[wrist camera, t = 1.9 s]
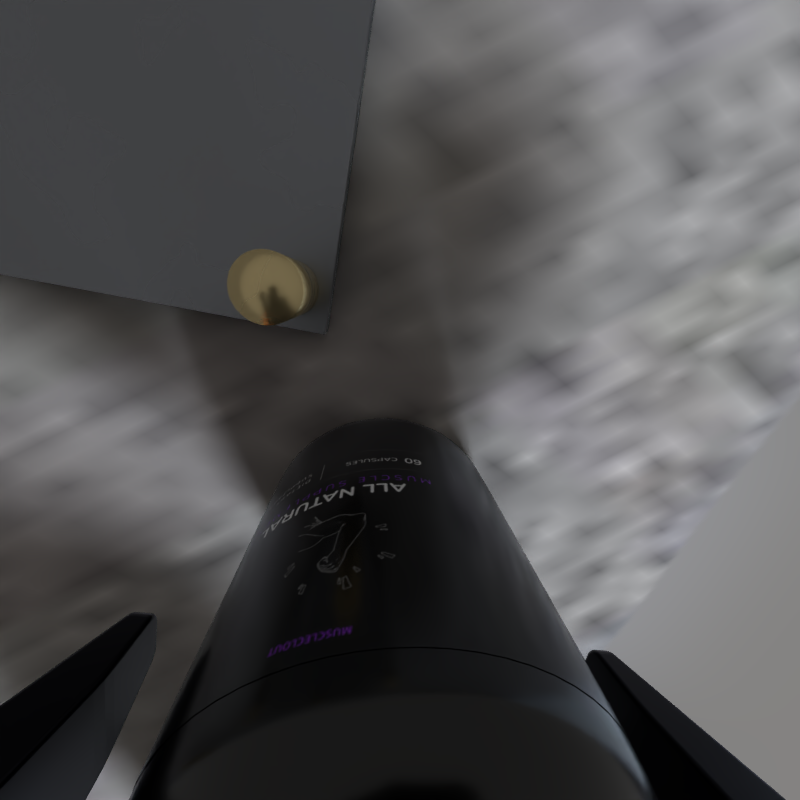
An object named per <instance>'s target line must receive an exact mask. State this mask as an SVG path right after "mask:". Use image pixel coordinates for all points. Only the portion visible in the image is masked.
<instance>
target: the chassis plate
mask: <svg viewBox="0 0 800 800" xmlns="http://www.w3.org/2000/svg"><path fill="white" fill-rule="evenodd" d="M374 7H375V0H0V274H2V275H7V276H12V277H18V278H23V279H28V280H34V281H39V282H45V283H50V284H55V285H61V286H66V287H72V288H77V289H82V290H88V291H93V292H98V293H104V294H109V295H115V296H120V297H125V298H131V299H136V300H142V301H147V302H152V303H158V304H163V305H169V306H174V307H179V308H185V309H190V310H195V311H201V312H206V313H212V314H217V315H222V316H228V317H233V318H239V319H244V320H249V321H251V322H254V323H256V324H260V325H276V326H282V327H287V328H292V329H298V330H303V331H309V332H314V333H319V334H326V333H327V331H328V326H329V319H330V312H331V305H332V298H333V291H334V285H335V278H336V271H337V264H338V257H339V250H340V243H341V236H342V229H343V222H344V215H345V208H346V201H347V194H348V187H349V181H350V174H351V167H352V160H353V153H354V146H355V139H356V132H357V125H358V118H359V111H360V104H361V97H362V90H363V83H364V77H365V70H366V63H367V56H368V49H369V42H370V35H371V28H372V21H373V14H374Z"/></svg>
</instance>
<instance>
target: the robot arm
mask: <svg viewBox="0 0 800 800" xmlns="http://www.w3.org/2000/svg"><path fill="white" fill-rule="evenodd" d="M156 633H157V617H156V615H155V614H152V613H140V612H134V613H131V614H129V615H127V616H126V617H124V618H123V619H122V620H120V621H119V622H117V623H116V624H115V625H113V626H112V627H110V628H109V629H107V630H106V631H105V632H103V633H102V634H100V635H99V636H98V637H96V638H95V639H93V640H92V641H91V642H89V643H88V644H86V645H85V646H84V647H82V648H81V649H79V650H78V651H77V652H75V653H74V654H72V655H71V656H69V657H68V658H67V659H65V660H64V661H62V662H61V663H60V664H58V665H57V666H55V667H54V668H53V669H51V670H50V671H48V672H47V673H46V674H44V675H43V676H41V677H40V678H39V679H37V680H36V681H34V682H33V683H31V684H30V685H29V686H27V687H26V688H24V689H23V690H22V691H20V692H19V693H17V694H16V695H15V696H13V697H12V698H10V699H9V700H8V701H6V702H5V703H3V704H2V705H1V706H0V800H86V798H87V796H88V794H89V793H90V791H91V789H92V787H93V785H94V784H95V782H96V780H97V778H98V776H99V774H100V772H101V771H102V769H103V767H104V765H105V763H106V761H107V759H108V757H109V755H110V753H111V750H112V748H113V746H114V744H115V742H116V740H117V737H118V735H119V733H120V731H121V729H122V726H123V724H124V722H125V720H126V718H127V715H128V713H129V711H130V709H131V707H132V704H133V702H134V700H135V698H136V696H137V693H138V691H139V689H140V687H141V684H142V682H143V680H144V678H145V676H146V673H147V671H148V669H149V667H150V665H151V662H152V660H153V657H154V654H155V650H156ZM585 661H586V663H587V665H588V667H589V668H590V670H591V672H592V674H593V675H594V677H595V679H596V681H597V683H598V684H599V686H600V688H601V690H602V691H603V693H604V695H605V697H606V699H607V700H608V702H609V704H610V706H611V707H612V709H613V711H614V713H615V715H616V716H617V718H618V720H619V722H620V724H621V725H622V727H623V729H624V731H625V733H626V734H627V736H628V738H629V740H630V742H631V744H632V747H633V749H634V751H635V752H636V754H637V756H638V758H639V760H640V762H641V764H642V766H643V768H644V770H645V772H646V774H647V776H648V778H649V780H650V782H651V784H652V786H653V789H654V791H655V793H656V795H657V798H658V800H785V799H784V798H783V797H782V796H781V795H779V794H778V793H777V792H776V791H775V790H774V789H773V788H771V787H770V786H769V785H768V784H766V783H765V782H764V781H763V780H762V779H760V777H758V776H757V775H756V774H755V773H754V772H752V771H751V770H750V769H749V768H748V767H746V766H745V765H744V764H743V763H742V762H741V761H739V760H738V759H737V758H736V757H735V756H733V755H732V754H731V753H730V752H729V751H728V750H726V749H725V748H724V747H723V746H722V745H720V744H719V743H718V742H717V741H716V740H715V739H713V738H712V737H711V736H710V735H708V734H707V733H706V732H705V731H704V730H703V729H702V728H700V727H699V726H698V725H696V723H694V722H693V721H692V720H691V719H689V718H688V717H687V716H686V715H685V714H684V713H682V712H681V711H680V710H679V709H678V708H677V707H675V706H674V705H673V704H672V703H671V702H670V701H668V700H667V699H666V698H664V696H662V695H661V694H660V693H659V692H658V691H657V690H655V689H654V688H653V687H652V686H651V685H649V684H648V683H647V682H646V681H645V680H644V679H642V678H641V677H640V676H639V675H637V674H636V673H635V672H634V671H633V670H631V668H629V667H628V666H627V665H626V664H625V663H623V662H622V661H621V660H620V659H618V658H617V657H616V656H615V655H614V654H613V653H611V652H609V651H602V650H592V651H590V652H589V653H588V655H587V658H586V660H585Z"/></svg>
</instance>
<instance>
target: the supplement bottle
mask: <svg viewBox="0 0 800 800" xmlns="http://www.w3.org/2000/svg"><path fill="white" fill-rule="evenodd" d="M129 800H658V798H657V795H656V793H655V791H654V789H653V786H652V784H651V782H650V780H649V778H648V776H647V774H646V772H645V770H644V768H643V766H642V764H641V762H640V760H639V758H638V756H637V754H636V752H635V751H634V749H633V747H632V744H631V742H630V740H629V738H628V736H627V734H626V733H625V731H624V729H623V727H622V725H621V724H620V722H619V720H618V718H617V716H616V715H615V713H614V711H613V709H612V707H611V706H610V704H609V702H608V700H607V699H606V697H605V695H604V693H603V691H602V690H601V688H600V686H599V684H598V683H597V681H596V679H595V677H594V675H593V674H592V672H591V670H590V668H589V667H588V665H587V663H586V661H585V659H584V658H583V656H582V654H581V652H580V651H579V649H578V647H577V645H576V643H575V642H574V640H573V638H572V636H571V635H570V633H569V631H568V629H567V628H566V626H565V624H564V622H563V620H562V619H561V617H560V615H559V613H558V612H557V610H556V608H555V606H554V604H553V603H552V601H551V599H550V597H549V596H548V594H547V592H546V590H545V588H544V587H543V585H542V583H541V581H540V580H539V578H538V576H537V574H536V573H535V571H534V569H533V567H532V565H531V564H530V562H529V560H528V558H527V557H526V555H525V553H524V551H523V549H522V548H521V546H520V544H519V542H518V541H517V539H516V537H515V535H514V533H513V532H512V530H511V528H510V526H509V525H508V523H507V521H506V519H505V518H504V516H503V514H502V512H501V510H500V509H499V507H498V505H497V503H496V502H495V500H494V498H493V496H492V494H491V493H490V491H489V489H488V487H487V486H486V484H485V482H484V481H483V479H482V478H481V476H480V474H479V473H478V471H477V469H476V468H475V466H474V465H473V463H472V462H471V461H470V459H469V458H468V457H467V456H466V454H465V453H464V452H463V451H462V450H461V449H460V448H459V447H458V446H457V445H456V444H454V443H453V442H452V441H451V440H449V439H448V438H446V437H445V436H443V435H442V434H440V433H438V432H436V431H434V430H433V429H430V428H428V427H425V426H423V425H420V424H417V423H413V422H409V421H404V420H398V419H368V420H362V421H357V422H353V423H349V424H346V425H343V426H341V427H338V428H336V429H334V430H331V431H329V432H327V433H325V434H324V435H322V436H321V437H319V438H317V439H316V440H314V441H313V442H312V443H311V444H309V445H308V446H307V447H306V448H305V449H304V450H303V451H301V452H300V453H299V455H298V456H297V457H296V458H295V459H294V460H293V462H292V463H291V465H290V466H289V467H288V469H287V470H286V472H285V473H284V475H283V477H282V479H281V481H280V483H279V485H278V487H277V488H276V491H275V492H274V494H273V496H272V498H271V500H270V502H269V504H268V506H267V509H266V511H265V513H264V515H263V517H262V519H261V521H260V523H259V525H258V527H257V529H256V532H255V534H254V536H253V538H252V540H251V542H250V544H249V546H248V548H247V550H246V553H245V555H244V557H243V559H242V561H241V563H240V565H239V567H238V569H237V571H236V573H235V576H234V578H233V580H232V582H231V584H230V586H229V588H228V590H227V592H226V594H225V596H224V599H223V601H222V603H221V605H220V607H219V609H218V611H217V613H216V615H215V617H214V620H213V622H212V624H211V626H210V628H209V630H208V632H207V634H206V636H205V638H204V640H203V643H202V645H201V647H200V649H199V651H198V653H197V655H196V657H195V659H194V661H193V663H192V666H191V668H190V670H189V672H188V674H187V676H186V678H185V680H184V682H183V684H182V687H181V689H180V691H179V693H178V695H177V697H176V699H175V701H174V703H173V705H172V707H171V710H170V712H169V714H168V716H167V718H166V720H165V722H164V724H163V726H162V728H161V731H160V733H159V735H158V737H157V739H156V741H155V743H154V745H153V747H152V749H151V752H150V754H149V756H148V758H147V760H146V762H145V764H144V766H143V768H142V771H141V773H140V775H139V777H138V779H137V781H136V784H135V786H134V789H133V792H132V794H131V796H130V798H129Z"/></svg>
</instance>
